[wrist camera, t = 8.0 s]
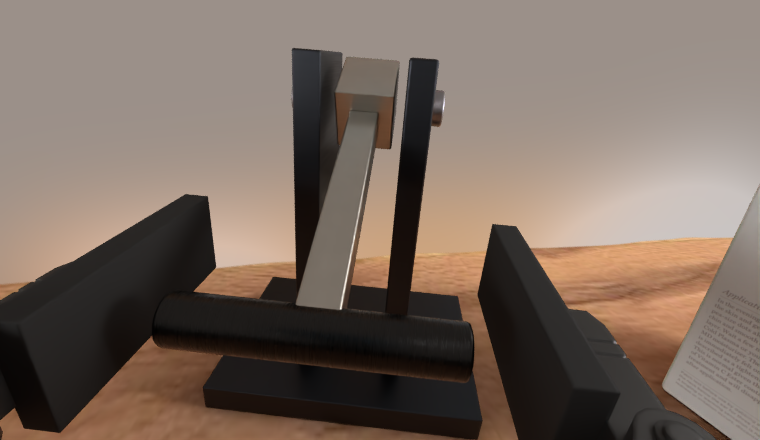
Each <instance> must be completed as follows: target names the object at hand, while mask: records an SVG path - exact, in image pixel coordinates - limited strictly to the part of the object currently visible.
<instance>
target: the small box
mask: <svg viewBox="0 0 760 440" xmlns="http://www.w3.org/2000/svg"><path fill="white" fill-rule="evenodd" d="M662 386H663V389H664V390H665V391H666V392H668V393H669V394H671V395H672V396H673V397H675V398H676V399H677V400H679V401H680V402H681V403H683V404H684V405H686V406H687V407H688V408H690V409H691V410H692V411H694V412H695V413H696V414H698V415H699V416H700V417H702V418H703V419H704V420H706V421H707V422H709V423H710V424H711V425H713V426H714V427H715V428H717V429H718V430H719V431H721V432H722V433H723V434H725V435H726V436H727V437H729V438H730V439H731V440H760V185H759V187H758V189H757V191H756V193H755V195H754V197H753V199H752V201H751V203H750V205H749V207H748V209H747V211H746V213H745V216H744V218H743V220H742V222H741V224H740V226H739V228H738V230H737V232H736V234H735V236H734V238H733V240H732V242H731V244H730V246H729V248H728V250H727V252H726V254H725V256H724V258H723V260H722V262H721V265H720V267H719V269H718V271H717V273H716V275H715V277H714V279H713V281H712V283H711V285H710V287H709V289H708V291H707V293H706V295H705V297H704V299H703V301H702V303H701V305H700V307H699V309H698V311H697V313H696V316H695V318H694V320H693V322H692V323H691V326H690V328H689V330H688V332H687V334H686V336H685V338H684V340H683V342H682V344H681V346H680V348H679V350H678V352H677V354H676V356H675V358H674V360H673V362H672V364H671V366H670V368H669V370H668V372H667V374H666V376H665V378H664V380H663V382H662Z"/></svg>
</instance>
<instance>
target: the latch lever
mask: <svg viewBox="0 0 760 440" xmlns="http://www.w3.org/2000/svg"><path fill="white" fill-rule="evenodd" d="M399 64H400V62H399V61H394V60H382V59H369V58H356V57H347V58H346V60H345V63H344V66H343V68H342V71H341V74H340V77H339V80H338V83H337V85H336V88H335V91H334V95H335V111H336V127H337V143H338V145H340V147H339V151H338V154H337V158H336V161H335V165H334V168H333V172H332V176H331V179H330V183H329V186H328V190H327V193H326V197H325V200H324V204H323V208H322V211H321V215H320V218H319V222H318V225H317V229H316V232H315V236H314V240H313V243H312V247H311V250H310V254H309V257H308V261H307V264H306V268H305V272H304V275H303V279H302V282H301V286H300V289H299V293H298V296H297V300H296V303H291V302H282V301H273V300H264V299H255V298H245V297H236V296H227V295H218V294H209V293H199V292H190V291H181V290H176V291H172V292H170V293H168V294H167V295H166V296H165V297H164V298H163V299H162V300H161V302H160V303H159V305H158V307H157V309H156V311H155V314H154V318H153V322H152V337H153V341H154V342H155V344H156V345H157V346H159V347H160V348H165V349H174V350H183V351H191V352H200V353H209V354H217V355H226V356H235V357H243V358H252V359H261V360H269V361H278V362H286V363H295V364H304V365H312V366H321V367H330V368H338V369H347V370H356V371H364V372H373V373H382V374H390V375H399V376H408V377H416V378H425V379H434V380H442V381H451V382H460V383H466V382H468V381H469V380H470V377H471V374H472V370H473V364H474V335H473V330H472V327H471V324H470V323H468V322H466V321H457V320H448V319H439V318H429V317H420V316H411V315H402V314H393V313H383V312H374V311H365V310H356V309H347V305H348V300H349V294H350V288H351V283H352V277H353V271H354V266H355V260H356V254H357V249H358V243H359V238H360V232H361V225H362V221H363V215H364V209H365V204H366V198H367V192H368V186H369V181H370V175H371V170H372V164H373V158H374V152H375V148H381V149H391V145H392V138H393V130H394V123H395V115H396V104H397V90H398V78H399Z"/></svg>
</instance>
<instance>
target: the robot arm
mask: <svg viewBox="0 0 760 440" xmlns="http://www.w3.org/2000/svg"><path fill="white" fill-rule="evenodd" d="M215 268H216V262H215V253H214V245H213V236H212V228H211V219H210V210H209V202H208V197H207V196H198V195H188V194H185V195H184V196H182V197H180V198H179V199H177V200H175V201H174V202H172V203H170V204H169V205H167V206H165V207H164V208H162V209H160V210H159V211H157V212H155V213H153V214H152V215H150V216H149V217H147V218H145V219H144V220H142V221H140V222H138V223H137V224H135V225H133V226H132V227H130V228H128V229H127V230H125V231H123V232H122V233H120V234H118V235H117V236H115V237H113V238H112V239H110V240H108V241H106V242H105V243H103V244H102V245H100V246H98V247H96V248H95V249H93V250H91V251H90V252H88V253H86V254H85V255H83V256H81V257H80V258H78V259H76V260H75V261H73V262H70V263H68V264H65V265H62V266H60V267H57V268H55V269H53V270H51V271H49V272H48V273H46V274H44V275H43V276H41V277H39V278H38V279H36V281H35V282H31V283H29V284H27V285H26V286H24V287H22V288H20V289H19V291H18V292H14V293H12V294H10V295H8V296H7V297H5V298H3V299H2V300H0V420H1V419H2V418H3V417H4V416H6V415H7V414H8V413H9V412H10V411H11V410H12V409H14V408H15V409H16V411H17V413H18V416H19V418H20V420H21V422H22V425H23V427H24V428H25V429H33V430H41V431H49V432H57V433H61V431H62V430H63V429H64V428H65V427H66V426H67V425H68V424H69V423H70V422H71V421H72V420H73V419H74V418H75V417H76V416H77V414H78V413H79V412H80V411H81V410H82V409H83V408H84V407H85V406H86V405H87V404H88V403H89V402H90V401H91V400H92V399H93V397H94V396H95V395H96V394H97V393H98V392H99V391H100V390H101V389H102V388H103V387H104V386H105V385H106V384H107V383H108V382H109V380H110V379H111V378H112V377H113V376H114V375H115V374H116V373H117V372H118V371H119V370H120V369H121V368H122V367H123V366H124V365H125V363H126V362H127V361H128V360H129V359H130V358H131V357H132V356H133V355H134V354H135V353H136V352H137V351H138V350H139V349H140V348H141V346H142V345H143V344H144V343H145V342H146V341H147V340H148V339H149V338H150V337H151V336H152V322H153V318H154V314H155V311H156V309H157V307H158V305H159V303H160V302H161V300H162V299H163V298H164V297H165V296H166V295H167V294H168V293H170V292H172V291H176V290H181V291H190V292H193V291H194V290H195V289H196V288H197V287H198V286H199V285H200V284H201V283H202V282H203V281H204V280H205V278H206V277H207V276H208V275H209V274H210V273H211V272H212V271H213V270H214V269H215ZM478 298H479V302H480V305H481V309H482V312H483V316H484V319H485V323H486V326H487V330H488V333H489V337H490V341H491V344H492V348H493V351H494V355H495V358H496V362H497V365H498V369H499V372H500V376H501V379H502V383H503V387H504V390H505V394H506V397H507V401H508V404H509V408H510V411H511V415H512V418H513V422H514V425H515V429H516V433H517V436H518V440H716V439H715V438H714V437H713V436H712V435H711V434H709V433H708V432H707V431H705V430H704V429H703V428H702V427H700V426H699V425H698V424H696V423H695V422H693V421H691V420H689V419H687V418H685V417H683V416H681V415H679V414H678V413H674V412H671V411H668V410H666V409H665V407H664V406H663V405H662V403H661V402H660V401H659V399H658V398H657V397H656V395H655V394H654V392H653V391H652V390H651V388H650V387H649V386H648V384H647V383H646V381H645V380H644V379H643V377H642V376H641V375H640V373H639V372H638V370H637V369H636V368H635V366H634V365H633V364H632V362H631V361H630V359H629V358H626V354H625V353H624V351H623V350H622V348H621V347H620V346H619V345H618V344H616V340H615V339H614V337H613V336H612V335H611V333H610V332H609V331H608V329H607V328H606V327H605V325H604V324H602V323H601V322H600V321H598V320H597V319H596V318H595V317H593V316H592V315H591V314H590V313H588V312H587V311H582V310H572V309H568V308H567V306H566V305H565V303H564V301H563V300H562V298H561V297H560V295H559V294H558V292H557V290H556V289H555V287H554V286H553V284H552V282H551V281H550V279H549V278H548V276H547V275H546V273H545V271H544V270H543V268H542V267H541V265H540V263H539V262H538V260H537V259H536V257H535V255H534V254H533V252H532V251H531V249H530V248H529V246H528V244H527V243H526V241H525V240H524V238H523V236H522V235H521V233H520V232H519V230H518V228H517V227H516V226H507V225H496V224H493V225H492V229H491V234H490V238H489V243H488V248H487V252H486V257H485V262H484V267H483V271H482V276H481V281H480V285H479V290H478ZM2 434H3V431H2V429H1V427H0V440H1V438H2Z"/></svg>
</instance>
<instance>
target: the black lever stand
mask: <svg viewBox="0 0 760 440" xmlns="http://www.w3.org/2000/svg"><path fill="white" fill-rule="evenodd" d="M438 68H439V61H438V60H436V59H423V58H410V60H409V70H408V80H407V91H406V101H405V111H404V121H403V132H402V142H401V152H400V163H399V173H398V183H397V184H398V185H397V194H396V204H395V215H394V225H393V235H392V246H391V256H390V267H389V277H388V287H387V289H384V288H375V287H365V286H356V285H351V288H350V294H349V300H348V305H347V309H356V310H365V311H374V312H383V313H393V314H402V315H411V316H420V317H429V318H439V319H448V320H457V321H463V319H462V314H461V309H460V304H459V299H458V296H450V295H441V294H431V293H422V292H413V291H410V290H411V282H412V274H413V266H414V259H415V251H416V242H417V235H418V227H419V218H420V211H421V202H422V195H423V186H424V179H425V171H426V163H427V155H428V147H429V139H430V131H431V126H437V127H439V126H440V125H441V122H442V117H443V111H444V102H445V92H444V91H439V90H436V84H437V75H438ZM341 71H342V53H341V52H332V51H322V50H311V49H298V48H293V49H292V80H293V86H292V95H291V97H292V98H291V99H292V107H293V129H294V130H293V136H294V184H295V185H294V186H295V187H294V189H295V240H296V279H290V278H280V277H273V278H272V280H271V281H270V283H269V284H268V286H267V287H266V289H265V291H264V292H263V294H262V295H261V297H260V298H259V299H264V300H273V301H282V302H291V303H296V300H297V296H298V293H299V289H300V286H301V282H302V279H303V275H304V272H305V268H306V264H307V261H308V257H309V254H310V250H311V247H312V243H313V240H314V236H315V232H316V229H317V225H318V222H319V218H320V215H321V211H322V208H323V204H324V200H325V197H326V193H327V190H328V186H329V183H330V179H331V176H332V172H333V168H334V165H335V161H336V158H337V154H338V151H339V147H340V145H338V143H337V127H336V111H335V95H334V91H335V88H336V85H337V83H338V80H339V77H340V74H341ZM203 392H204V398H205V405H206V407H211V408H220V409H228V410H236V411H244V412H252V413H261V414H269V415H277V416H285V417H294V418H302V419H310V420H318V421H326V422H335V423H343V424H351V425H359V426H368V427H376V428H384V429H392V430H400V431H409V432H417V433H425V434H433V435H442V436H450V437H458V438H466V439H474V440H477V439H478V436H479V432H480V428H481V425H482V416H481V411H480V406H479V401H478V395H477V390H476V385H475V380H474V375H473V370H472V374H471V377H470V380H469V381H468V382H466V383H460V382H451V381H442V380H434V379H425V378H416V377H408V376H399V375H390V374H382V373H373V372H364V371H356V370H347V369H338V368H330V367H321V366H312V365H304V364H295V363H286V362H278V361H269V360H261V359H252V358H243V357H235V356H226V355H223V357H222V358H221V360H220V361H219V363H218V364H217V366H216V368H215V369H214V371H213V372H212V374H211V375H210V377H209V379H208V380H207V382H206V383H205V385H204V386H203Z"/></svg>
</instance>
